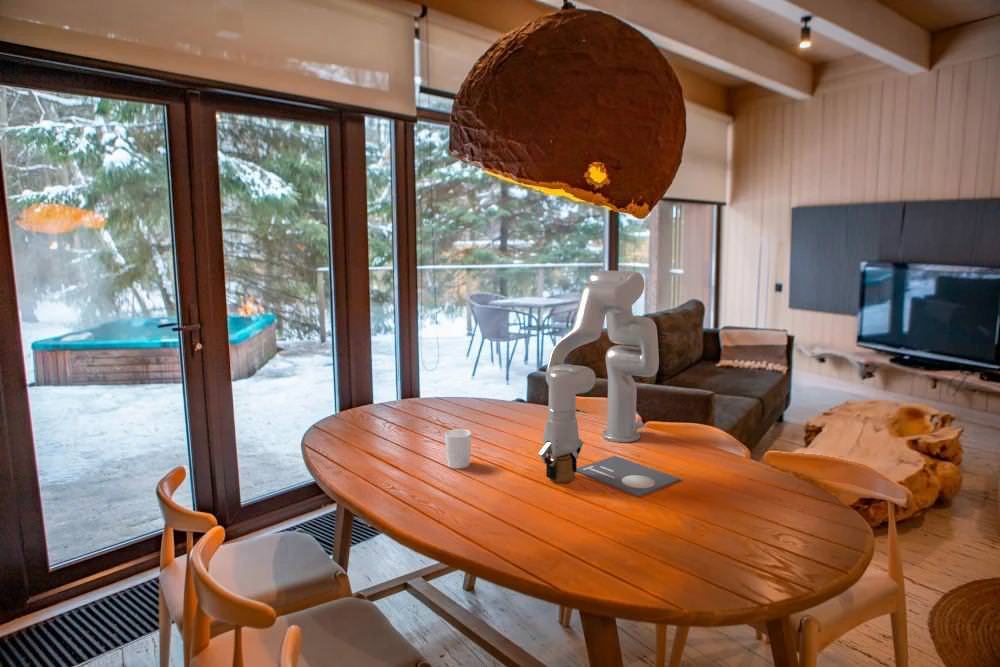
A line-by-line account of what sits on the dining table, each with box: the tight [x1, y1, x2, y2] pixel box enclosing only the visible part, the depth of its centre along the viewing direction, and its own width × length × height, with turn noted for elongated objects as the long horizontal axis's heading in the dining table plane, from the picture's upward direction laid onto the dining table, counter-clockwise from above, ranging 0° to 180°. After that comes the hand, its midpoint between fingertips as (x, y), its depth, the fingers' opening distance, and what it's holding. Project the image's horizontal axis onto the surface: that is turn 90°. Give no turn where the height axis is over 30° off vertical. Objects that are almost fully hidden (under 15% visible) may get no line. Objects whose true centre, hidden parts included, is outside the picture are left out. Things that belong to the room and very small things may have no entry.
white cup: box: [444, 428, 472, 470], centre depth 188 cm, size 8×8×10 cm
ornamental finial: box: [548, 454, 576, 485], centre depth 177 cm, size 8×8×8 cm
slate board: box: [576, 455, 681, 498], centre depth 179 cm, size 18×24×1 cm
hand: (561, 474), depth 177 cm, fingers closed on ornamental finial, 7 cm apart
